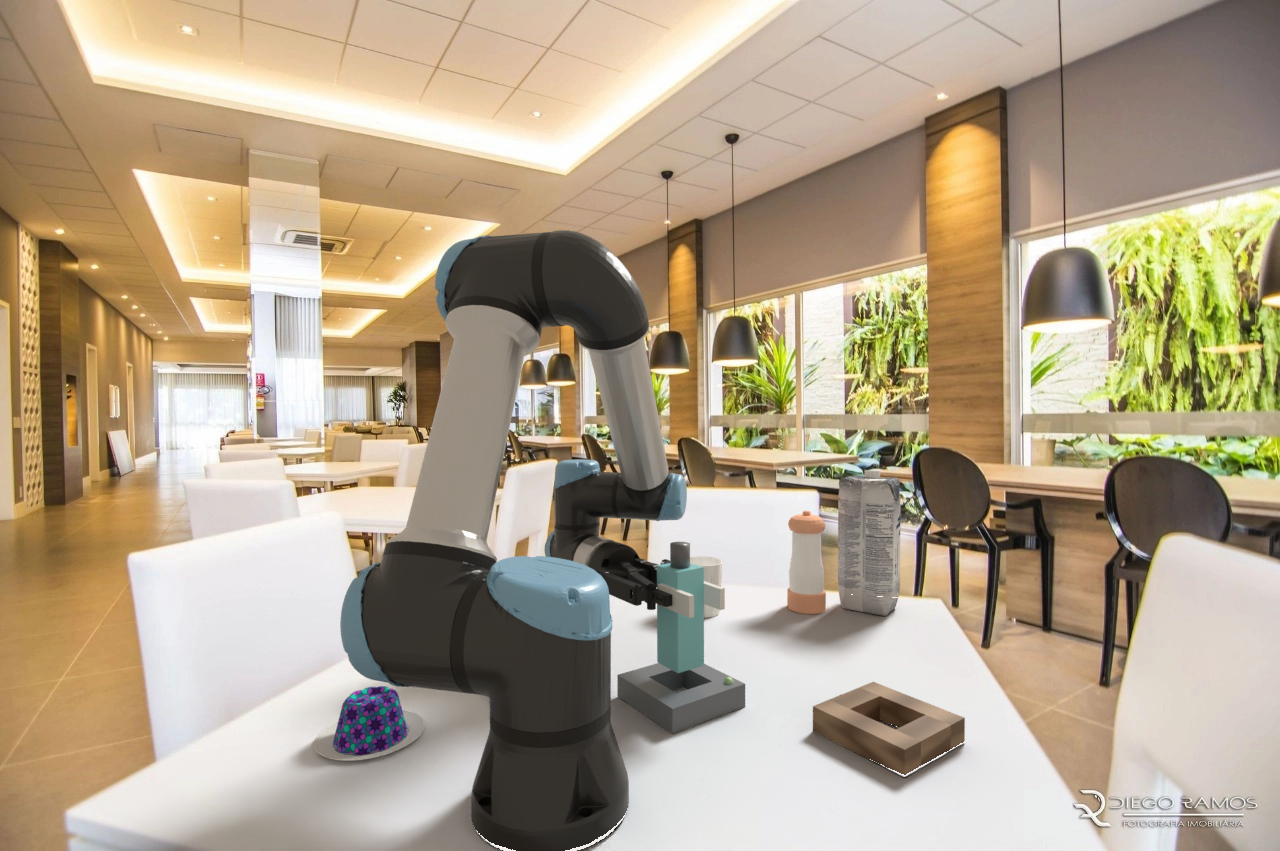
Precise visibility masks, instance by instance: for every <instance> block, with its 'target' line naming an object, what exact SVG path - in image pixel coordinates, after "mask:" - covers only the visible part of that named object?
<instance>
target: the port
mask: <svg viewBox="0 0 1280 851" xmlns="http://www.w3.org/2000/svg"><path fill="white" fill-rule="evenodd" d="M616 676H617V680H616V681H617V687H616V688H617V698H619V699H620V700H621V701H623V702H625V703H626V704H628V705H629V706H631V707H632V708H633V709H635V710H636V711H637V712H639V713H641V714H642V715H644V716H645V717H647V718H649V719H650V720H652V722H654V723H655V724H657V725H659V726H660V727H662V728H663V729H665V730H666V731H668V732H669V733H670V734H675V733H679V732H682V731H683V730H687V729H689V728H692V727H694V726H697V725H700V724H702V723H705V722H708V721H711V720H713V719H716V718H719V717H721V716H724V715H727V714H729V713H732V712H734V711H738V710H740V709H742V708H743V709H744V708H745V707H746V683H744V682H742V681H740V680H738V679H736V678H734V677H733V676H730V675H728V674H726V673H725V672H722V671H720V670H719V669H716V668H714V667H712V666H710V665H708V664H706V663H704V665H703V666H700V667H697V668H693V669H690V670H687V671H684V672H681V673H676V672H674V671H673V670H671V669H669V668H667V667H665V666H663V665H662V664H660V663H658V662H656V663H653V664H650V665H647V666H643V667H639V668H637V669H633V670H629V671H625V672H623V673H618V674H617V675H616ZM681 689H684V690H682V691H679V690H681ZM676 691H679V692H676Z"/></svg>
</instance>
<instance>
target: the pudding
mask: <svg viewBox="0 0 1280 851" xmlns="http://www.w3.org/2000/svg"><path fill="white" fill-rule="evenodd" d="M337 720H338V721H336V722H333V723H332V724H330V725H329V726H327V727H326V728H324V730H322V731H321V732H320V733H319V734H318V735H317V736H316V739H315V740H314V744H313V745H314V746H313V747H314V749H315V751H316V752H317V754H318V755H320V756H322V757H324V758H326V759H331V760H335V761H344V762H346V761H347V762H348V761H362V760H370V759H374V758H378V757H382V756H386V755H388V754H392V753H394V752H396V751H399V750H401V749H403V748H404V747H407V746H408V745H410V744H412V743H413V742H414V741H416V740H417V739H418V738H419V737H420V736H421V735H422V733H423V732H424V729H425V726H426V725H425V724H426V723H425V719H424V718H423V717H422V716H421V715H419V714H418V713H416V712H415V711H414V712H413V711H410V710H405V709H403V708H402V705H401V700H400V697H399V694H398V691H396V690H395V689H394V688H393V687H392V688H391V687H388V686H385V685H383V686H382V685H381V686H368V687H365V688H363V689H358V690H355V691H353V692H352V693H350V694H349V696H347V697H346V698H345V699H344V700H343V703H342V705H341V709H340V713H339V717H338V719H337ZM407 729H408V733H407ZM398 742H399V743H398ZM396 743H398V744H396ZM395 744H396V745H395ZM334 746H335V747H336V749H335V748H334ZM373 752H376V753H373ZM349 754H353V755H349Z"/></svg>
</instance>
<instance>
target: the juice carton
mask: <svg viewBox="0 0 1280 851" xmlns="http://www.w3.org/2000/svg"><path fill="white" fill-rule="evenodd" d="M900 485H901V484H900V479H899V478H897V477H893V476H892V477H881V471H880V470H872V469H871V470H870V469H869V470H868V469H867V470H866V469H864V475H858V474H857V475H856V474H854V475H849V476H846V477H842V478H840V479H839V482H838V500H837V502H838V503H837V506H838V510H837V514H838V515H837V517H838V518H837V526H838V527H837V532H838V533H837V549H838V550H837V589H838V596H839V602H840V606H841V608H842V609H843V610H844V609H845V610H849V611H855V612H859V613H860V612H861V613H865V614H871V615H876V616H883V617H886V616H887V615H889V613H890V612H892V611H893V610H894V609H895V608H896V606H897V603H898V600H899V596H900V590H901V589H900V588H901V492H900V491H901V490H900ZM851 594H853V595H851ZM877 596H883V597H877ZM892 597H898V598H892Z"/></svg>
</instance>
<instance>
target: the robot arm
mask: <svg viewBox="0 0 1280 851" xmlns="http://www.w3.org/2000/svg"><path fill="white" fill-rule="evenodd" d="M434 289H435V290H437V295H436V296H435V301H436V306H437V309H438V311H439V312H438V313H439V314H440V316H441V318H442V319H443V320H444V322H445V329H446V330H447V332H448V333H449V334H450V336H451V337H452V339H453V343H452V347H451V350H450V353H449V359H448V362H447V366H446V369H445V373H444V376H443V377H444V378H443V383H442V386H441V388H440V389H441V390H440V392H439V398H438V400H437V406H436V408H435V411H434V412H435V413H434V416H433V421H432V423H431V428H430V432H429V436H428V439H427V444H426V448H425V451H424V455H423V459H422V463H421V466H420V467H421V468H420V471H419V474H418V479H417V483H416V485H415V486H416V487H415V490H414V495H413V498H412V503H411V506H410V510H409V514H408V517H407V520H406V521H407V522H406V526H405V527H404V529H403V530H402V531H400V532H398V533H397V534H395V535H393V536H392V537H390V538H389V539H387V541H386V543H385V546H384V550H383V554H382V556H381V562H375V563H373V564H370V565H368V566H366V567H364V568H363V569H361V571H359V573H358V577H357V576H356V577H354V578H353V580H352V581H351V582H350V584H349V586H348V588H347V589H346V592H345V596H344V598H343V602H342V606H341V612H340V613H341V614H340V622H339V623H340V636H341V637H340V639H341V642H342V647H343V650H344V652H345V653H346V654H347V657H348V661H349V663H350V665H351V666H352V667H353V669H355V671H356V672H357V673H359V674H360V675H361V676H363V677H364V678H366V679H369V680H371V681H377V682H381V683H387V684H390V685H392V686H394V687H397V688H398V687H399V688H403V687H404V688H409V687H413V688H421V689H428V690H429V689H430V690H437V691H446V692H454V693H459V694H460V693H461V694H471V695H472V694H473V695H480V696H484V697H487V698H489V732H488V736H487V739H486V742H485V746H484V749H483V750H482V751H483V752H482V755H481V759H480V761H479V764H478V767H477V771H476V774H475V777H474V781H473V784H472V788H471V794H470V796H471V797H470V799H471V800H470V806H471V807H470V808H471V809H470V810H471V812H470V813H471V814H470V815H471V816H470V817H471V818H472V819H471V823H473V824H472V826H473V825H474V827H475V829H476V830H477V831H478V833H480V835H482V836H483V837H484V838H485V839H487V840H488V841H489V842H491V843H494V844H495V845H499V846H502V847H506V848H508V849H511V850H512V849H513V850H516V851H565V850H570V849H572V848H576V847H580V846H583V845H586V844H589V843H591V842H592V841H594V840H595V839H598V837H600V836H603V835H604V834H606V833H607V832H608V831H609V830H611V829H612V828H613V827H614V826H616V825H617V823H618V822H619V821H620V820H621V819H622V818H623V816H624V815H625V813H626V811H627V808H628V809H629V806H628V804H629V805H630V802H629V801H630V796H629V795H630V793H629V792H630V791H629V789H630V788H629V787H630V786H629V784H630V781H629V775H628V771H627V768H626V765H625V761H624V758H623V756H622V753H621V750H620V746H619V743H618V740H617V736H616V734H615V731H614V728H613V726H612V718H611V717H612V716H611V714H612V713H611V712H612V710H611V703H612V702H611V699H612V698H611V697H612V695H611V693H612V692H611V691H612V690H611V689H612V688H611V687H612V685H611V684H612V681H611V680H612V679H611V676H612V674H611V672H612V671H611V669H612V667H611V665H612V663H611V662H612V642H611V641H612V631H613V619H612V618H613V617H612V614H611V605H610V604H611V602H610V601H611V600H610V596H612V597H614V598H617V599H619V600H621V601H624V602H626V603H628V604H630V605H633V606H636V607H637V606H641V605H642V604H643V602H644V603H646V610H648V611H654V610H657V604H658V605H660V606H662V607H664V608H667V609H669V610H672V611H674V612H676V613H679V614H681V615H683V616H686V617H688V618H692V617H694V595H692V594H690V593H687V592H684V591H682V590H679V589H676V588H673V587H671V586H668V585H665V584H663V583H661V584H658V589H657V565H662V564H667V563H670V559H667V558H665V559H662V560H661V562H660V564H658V563H654V562H650V561H647V560H646V559H644V558H641V557H640V556H639V554H638V552H636V550H635V549H634V548H633V547H631V546H630V545H627V544H624V543H621V542H618V541H615V540H613V539H608V538H605V537H602V536H600V524H601V523H600V519H601V518H602V519H621V520H622V519H625V520H639V521H640V520H641V521H642V520H643V521H656V522H660V521H678V520H680V519H682V518H683V516H684V514H685V513H686V509H687V497H688V492H687V491H688V488H687V481H686V479H685V477H684V475H682V474H680V473H679V474H678V473H674V472H669V464H668V459H667V455H666V449H665V444H664V439H663V433H662V428H661V423H660V417H659V413H658V407H657V401H656V395H655V390H654V386H653V381H652V376H651V370H650V365H649V364H650V363H649V359H648V353H647V348H646V343H645V337H646V336H647V334H648V332H649V331H650V323H649V322H650V321H649V315H648V310H647V306H646V303H645V300H644V298H643V295H642V292H641V290H640V288H639V286H638V285H637V282H636V281H635V278H634V277H633V276H632V274H631V273H630V272H629V270H628V269H627V267H626V266H625V264H624V262H622V261H621V260H620V259H619V257H617V256H616V254H615V253H613V252H612V250H610V249H609V248H608V247H607V246H606V245H604V244H603V243H602V242H600V241H599V240H597V239H595V238H593V237H591V236H589V235H586V234H584V233H582V232H580V231H579V232H578V231H574V230H569V229H566V230H565V229H564V230H563V229H560V230H553V231H548V232H547V231H544V232H533V233H532V232H531V233H519V234H508V235H507V234H506V235H495V236H494V235H488V234H487V235H481V236H477V237H474V238H467V239H462V240H460V241H457V242H455V243H454V244H451V246H450V247H449V248H447V250H446V251H445V252H444V254H443V255H442V257H441V259H440V260H439V263H438V265H437V269H436V273H435V279H434ZM566 326H568V327H570V328H573V330H574V331H575V334H576V338H577V342H578V343H579V345H580V346H581V347H582V348H584V350H587V351H588V353H589V354H588V355H589V357H590V362H591V365H592V368H593V369H592V370H593V373H594V376H595V377H594V378H595V380H596V384H597V389H598V392H599V395H600V399H601V404H602V407H603V411H604V414H605V418H606V423H607V425H608V429H609V430H608V431H609V433H610V437H611V441H612V446H613V449H614V453H615V456H616V461H617V464H618V467H619V468H618V469H619V471H620V472H613V471H611V472H610V471H601V468H600V463H599V462H598V461H597V460H595V459H581V458H580V459H578V458H577V459H564V460H561V461H559V462H557V464H556V465H555V468H554V469H555V470H554V483H553V484H554V485H553V499H554V501H553V502H554V505H553V506H554V526H553V527H554V528H553V530H552V531H551V532H550V534H549V535H548V536H547V539H546V542H545V544H544V555H536V556H528V555H521V556H520V555H519V556H518V555H517V556H512V557H506V558H502V559H500V560H498V559H497V556H496V555H495V554H494V552H493V551H492V550H491V547H489V545H488V535H489V531H490V525H491V521H492V515H493V512H494V507H495V501H496V496H497V490H498V487H499V482H500V481H499V480H500V476H501V471H502V467H503V462H504V457H505V454H506V453H505V452H506V448H507V441H508V437H509V432H510V428H511V422H512V417H513V414H514V413H513V412H514V408H515V402H516V397H517V394H518V388H519V382H520V377H521V374H522V369H523V368H522V367H523V363H524V360H525V358H524V357H526V356H528V355H530V354H533V353H534V352H536V350H537V349H538V347H539V346H540V340H541V335H542V330H543V329H544V328H550V327H551V328H552V327H566ZM725 591H726V589H725V587H723V586H721V587H720V586H717V585H714V584H711V583H708V582H705V581H704V604H706V605H708V606H711V607H713V608H716V609H719V610H720V611H722V610H726V609H725V608H726V603H725V602H726V601H725V599H726V598H725V597H726V596H725V593H726V592H725ZM627 812H628V811H627ZM626 814H627V813H626ZM474 827H473V828H474ZM475 829H474V830H475Z"/></svg>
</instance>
